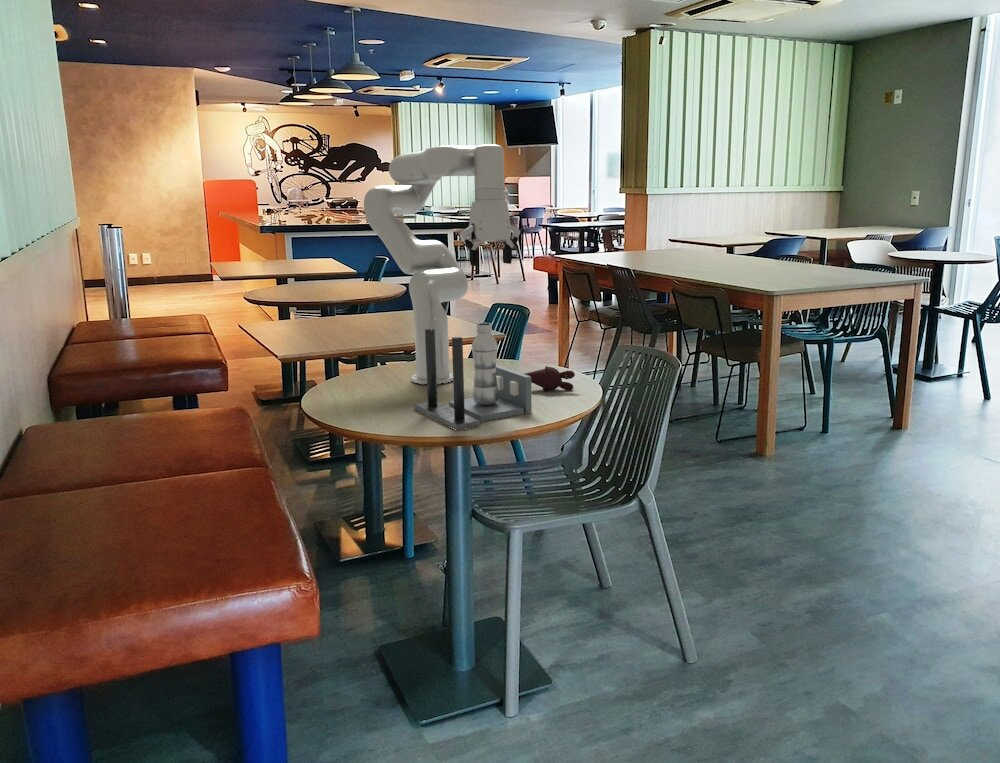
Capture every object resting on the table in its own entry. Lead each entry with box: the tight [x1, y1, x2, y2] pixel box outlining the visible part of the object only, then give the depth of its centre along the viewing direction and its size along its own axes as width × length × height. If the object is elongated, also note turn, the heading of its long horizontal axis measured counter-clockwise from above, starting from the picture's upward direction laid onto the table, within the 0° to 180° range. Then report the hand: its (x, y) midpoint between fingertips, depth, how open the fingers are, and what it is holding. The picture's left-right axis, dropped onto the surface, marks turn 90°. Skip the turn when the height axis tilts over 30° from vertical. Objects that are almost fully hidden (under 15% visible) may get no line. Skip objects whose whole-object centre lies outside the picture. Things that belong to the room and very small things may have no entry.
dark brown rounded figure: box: [524, 365, 576, 392], centre depth 215 cm, size 7×7×15 cm
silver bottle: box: [471, 322, 499, 405], centre depth 194 cm, size 6×7×20 cm
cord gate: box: [414, 329, 480, 431], centre depth 189 cm, size 22×6×20 cm, turn 31°
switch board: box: [448, 364, 533, 423], centre depth 196 cm, size 16×14×9 cm
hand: (491, 264), depth 205 cm, fingers open, 9 cm apart
